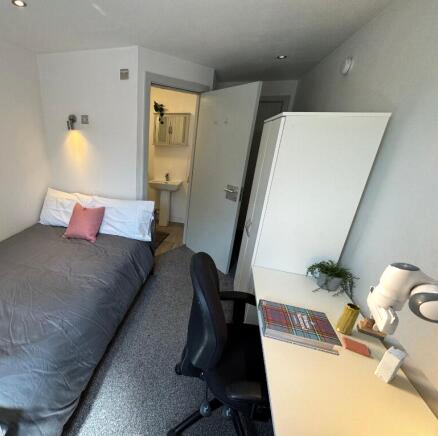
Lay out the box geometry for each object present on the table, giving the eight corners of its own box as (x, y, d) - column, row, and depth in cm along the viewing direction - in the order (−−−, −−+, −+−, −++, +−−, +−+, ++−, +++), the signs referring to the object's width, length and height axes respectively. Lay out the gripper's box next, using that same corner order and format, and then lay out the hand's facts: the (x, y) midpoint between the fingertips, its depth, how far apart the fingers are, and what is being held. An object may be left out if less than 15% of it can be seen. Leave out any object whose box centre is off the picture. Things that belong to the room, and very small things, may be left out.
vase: (349, 328, 111) (360, 305, 106) (352, 337, 106) (363, 313, 101) (334, 322, 114) (344, 300, 109) (335, 331, 109) (346, 307, 104)
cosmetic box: (387, 384, 87) (401, 361, 82) (372, 373, 91) (385, 351, 86) (394, 377, 89) (408, 355, 85) (380, 367, 93) (392, 345, 89)
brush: (380, 334, 97) (386, 322, 94) (383, 341, 93) (390, 329, 91) (356, 326, 100) (361, 314, 98) (358, 332, 97) (364, 320, 95)
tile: (365, 346, 102) (366, 344, 101) (368, 357, 97) (370, 355, 97) (342, 338, 106) (343, 336, 105) (345, 348, 101) (346, 346, 100)
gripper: (409, 320, 80) (392, 348, 86) (389, 288, 97) (376, 314, 102) (385, 313, 83) (370, 340, 88) (369, 283, 100) (357, 308, 105)
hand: (373, 326), depth 95 cm, fingers closed on brush, 2 cm apart
